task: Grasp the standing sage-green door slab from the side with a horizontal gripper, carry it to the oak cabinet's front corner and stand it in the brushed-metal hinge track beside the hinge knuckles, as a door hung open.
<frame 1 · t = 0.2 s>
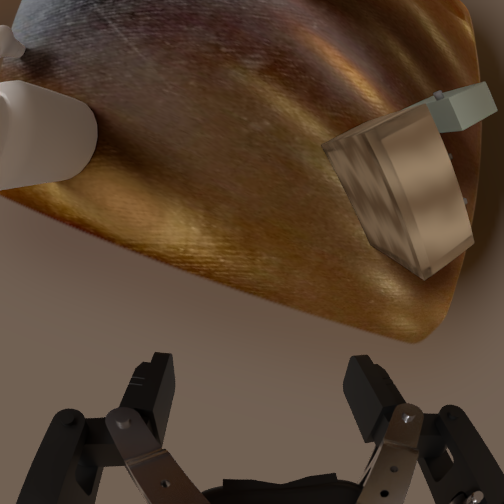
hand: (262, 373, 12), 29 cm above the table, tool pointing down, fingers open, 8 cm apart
cabinet: (370, 183, 39), on the table
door: (421, 115, 36), on the table
lightbulb: (23, 53, 30), on the table
can: (66, 139, 36), on the table
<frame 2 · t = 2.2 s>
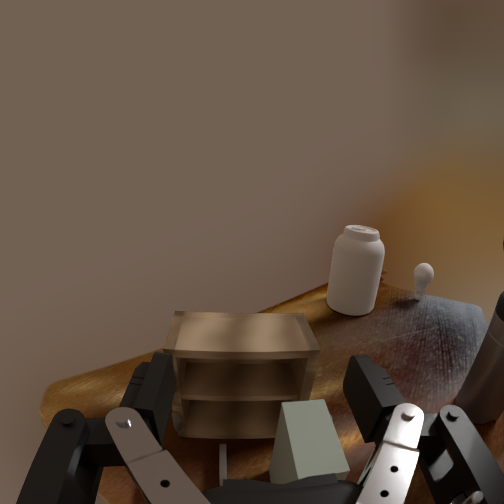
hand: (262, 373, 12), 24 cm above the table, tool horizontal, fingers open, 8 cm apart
cabinet: (237, 417, 37), on the table
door: (290, 496, 24), on the table
lightbulb: (417, 300, 75), on the table
can: (349, 305, 72), on the table
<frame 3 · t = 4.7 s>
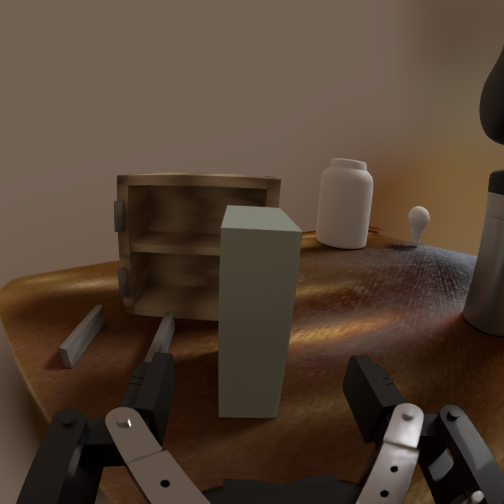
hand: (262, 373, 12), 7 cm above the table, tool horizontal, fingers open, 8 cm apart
cabinet: (198, 303, 35), on the table
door: (246, 380, 22), on the table
lightbulb: (414, 247, 72), on the table
can: (340, 243, 70), on the table
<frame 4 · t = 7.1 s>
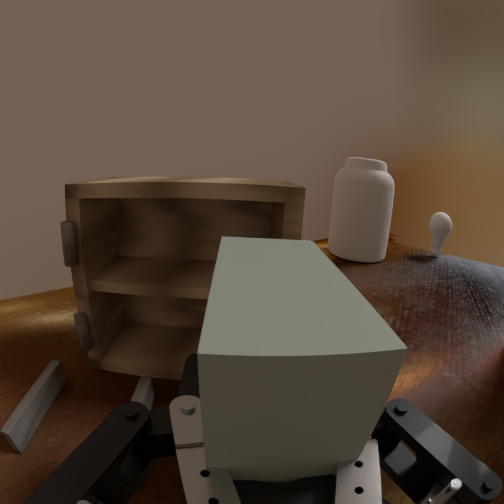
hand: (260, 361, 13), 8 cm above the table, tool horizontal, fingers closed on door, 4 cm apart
cabinet: (188, 352, 25), on the table
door: (254, 486, 13), on the table, touching gripper
lightbulb: (434, 257, 62), on the table
can: (356, 255, 60), on the table
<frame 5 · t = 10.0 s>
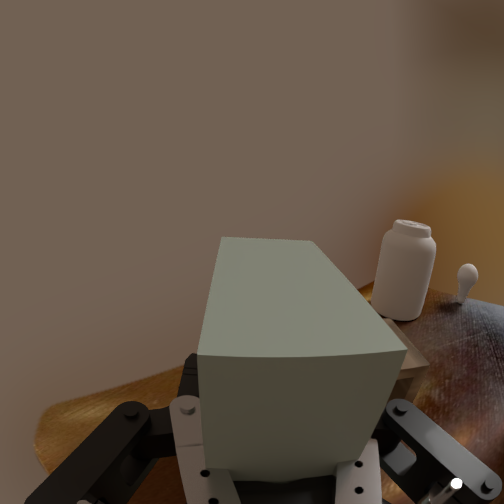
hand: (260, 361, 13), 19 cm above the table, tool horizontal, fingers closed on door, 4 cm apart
cabinet: (297, 451, 27), on the table
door: (254, 487, 13), point 12 cm above the table, touching gripper
lightbulb: (459, 304, 64), on the table
can: (394, 310, 61), on the table
when the fingers open (9 cm above the table, at t = 12.7 s): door drops 1 cm, on the table.
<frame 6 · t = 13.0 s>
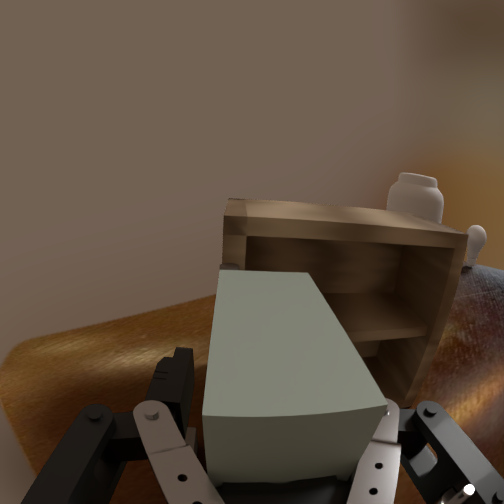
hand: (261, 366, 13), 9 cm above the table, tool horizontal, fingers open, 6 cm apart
cabinet: (315, 387, 23), on the table
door: (252, 497, 13), on the table
lightbulb: (469, 268, 61), on the table
can: (405, 268, 58), on the table
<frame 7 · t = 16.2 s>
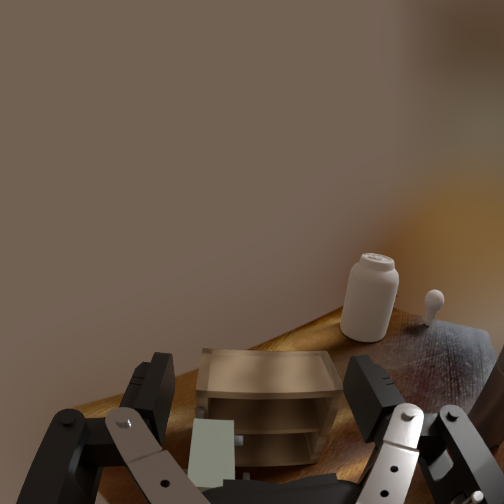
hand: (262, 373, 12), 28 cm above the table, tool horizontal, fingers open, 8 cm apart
cabinet: (258, 445, 36), on the table
lightbulb: (426, 325, 74), on the table
can: (361, 331, 71), on the table
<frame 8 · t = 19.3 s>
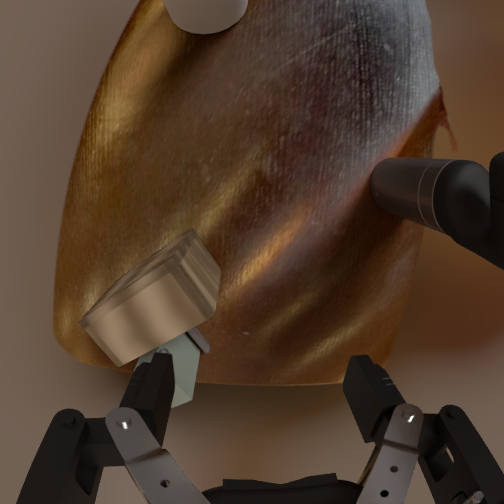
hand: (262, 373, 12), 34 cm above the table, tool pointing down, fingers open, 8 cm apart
cabinet: (166, 274, 47), on the table
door: (177, 338, 50), on the table
can: (208, 6, 35), on the table
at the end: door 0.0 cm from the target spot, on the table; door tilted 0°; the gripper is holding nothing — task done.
